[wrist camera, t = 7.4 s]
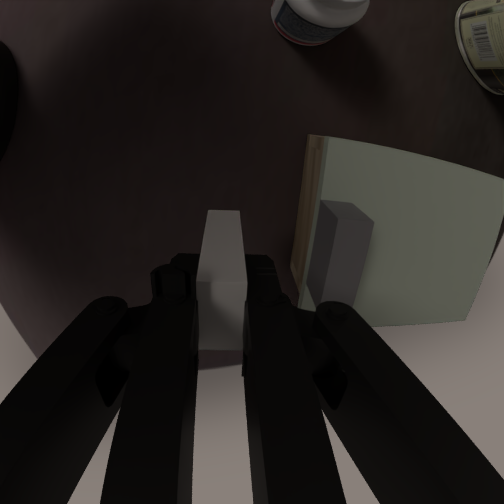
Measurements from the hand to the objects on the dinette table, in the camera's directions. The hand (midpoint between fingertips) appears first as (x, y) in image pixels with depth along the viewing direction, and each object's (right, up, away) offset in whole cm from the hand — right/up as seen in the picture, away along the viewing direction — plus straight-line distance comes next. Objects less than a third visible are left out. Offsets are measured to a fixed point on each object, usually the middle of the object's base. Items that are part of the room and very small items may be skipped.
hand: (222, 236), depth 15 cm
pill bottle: (+5, +17, +3) cm, 18 cm away
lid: (+12, 0, +3) cm, 12 cm away
